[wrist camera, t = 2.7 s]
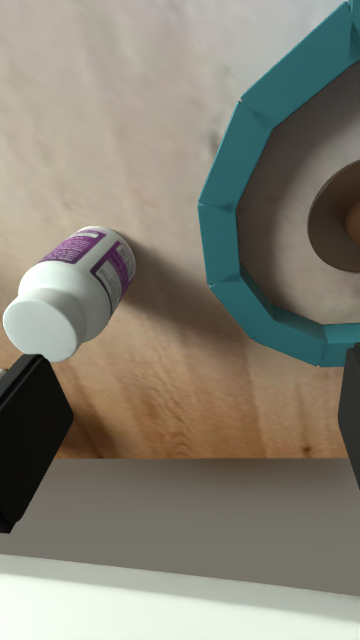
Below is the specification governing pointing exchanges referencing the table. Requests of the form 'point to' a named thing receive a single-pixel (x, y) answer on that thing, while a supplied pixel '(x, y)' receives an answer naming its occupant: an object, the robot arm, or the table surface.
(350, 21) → the ring
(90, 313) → the pill bottle
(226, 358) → the table surface
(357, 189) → the peg stand
